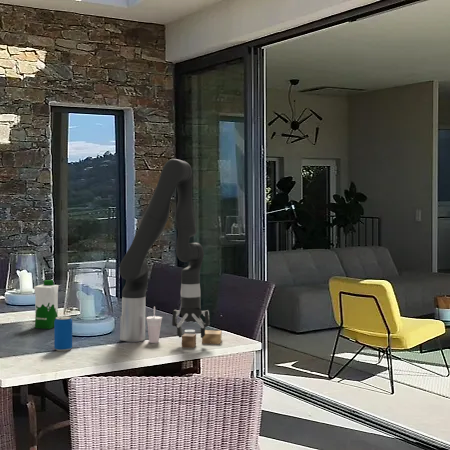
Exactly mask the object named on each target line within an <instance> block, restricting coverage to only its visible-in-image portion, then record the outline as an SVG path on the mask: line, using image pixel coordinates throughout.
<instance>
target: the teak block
mask: <svg viewBox="0 0 450 450" xmlns="http://www.w3.org/2000/svg"><path fill="white" fill-rule="evenodd" d="M222 334H223V333H222V330H212V329H211V330H210V329H205V336H203V338H201V344H207V345H208V344H209V345H210V344H211V345H213V344H214V345H220V344H221V342H222V336H223V335H222Z"/></svg>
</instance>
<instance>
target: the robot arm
mask: <svg viewBox="0 0 450 450" xmlns="http://www.w3.org/2000/svg"><path fill="white" fill-rule="evenodd" d="M155 187H156V188H155V190H154V192H153V194H152V197H151V199H150V201H149V204H148V206H147V208H146V210H145V212H144V214H143V216H142V218H141V221H140V223H139V226H138V228H137V231H136V232H135V234H134V238H133V239H132V242H131V244H130V246H129V248H128V250H127V252H126V253H125V255H124V256H123V258H122V260H121V261H120V264H119V267H118V268H119V274H120V277H121V278H122V279H123V280H125V285H124V286H123V288H122V290H121V297H122V298H121V316H119V319H120V320H119V333H120V334H119V341H123V342H127V343H130V342H131V343H132V342H133V343H135V342H143V341H145V340H146V295H147V294H146V292H147V289H148V281H149V279H148V278H149V268H148V267H149V266H148V263H147V260H146V257H147V255H148V253H149V251H150V250H151V248H152V247H153V245H154V244H155V243H156V242H157V240H158V239H159V237H161V234H162V233H163V231H164V229H165V227H166V224H167V223H168V220H169V217H170V211H171V199H172V197H173V194H174V192H175V189H176V192H177V204H176V210H175V221H176V229H177V240H176V247H175V248H176V249H175V250H176V251H175V253H176V256H177V259H178V260H179V261H181V262H183V263H188V265H187V266H186V267H184V268H183V269H181V271H180V272H181V277H180V279H181V284H180V310H177V309H174V310H173V311H172V317H171V319H172V322H171V326H172V327H176V328H177V329H176V335H177V336H178V338H182V335H183V331H182V330H183V329H182V328H183V327H182V325H183V323H184V322H186V323H188V322H189V323H190V322H192V323H196V324H198V325H199V326H200V338H201V339H202V338H203V336H205V330H206V328H207V327H209V326H210V325H211V321H210V319H211V318H210V310H209V309H207V310H202V306H201V298H202V297H201V280H200V279H201V276H200V273H201V270H202V265H203V264H202V263H203V261H204V255H205V254H204V248H203V246H202V244H201V243H199V242H190V238H192V237H194V236H195V235H197V226H196V222H195V221H196V220H195V216H194V215H195V214H194V205H193V204H194V203H193V170H192V166H191V165H190V164H189V163H188V162H187V161H185V160H181V159H177V158H171V159H169V160H167V161H166V163H165V164H164V166H163V167H162V169H161V172H160V176H159V179H158V181H157V185H156V186H155ZM179 315H180V317H181V319H180V321H178V316H179ZM201 315H203V317H204V319H205V321H203V319H202V318H201Z"/></svg>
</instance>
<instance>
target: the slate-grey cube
mask: <svg viewBox="0 0 450 450" xmlns="http://www.w3.org/2000/svg"><path fill="white" fill-rule="evenodd" d="M184 334H196V330H195V329H184Z"/></svg>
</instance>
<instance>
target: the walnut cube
mask: <svg viewBox="0 0 450 450" xmlns="http://www.w3.org/2000/svg"><path fill="white" fill-rule="evenodd" d="M196 345H197V334H196V333H195V334H185V333H182V337H181V348H187V349H194V348H196Z"/></svg>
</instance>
